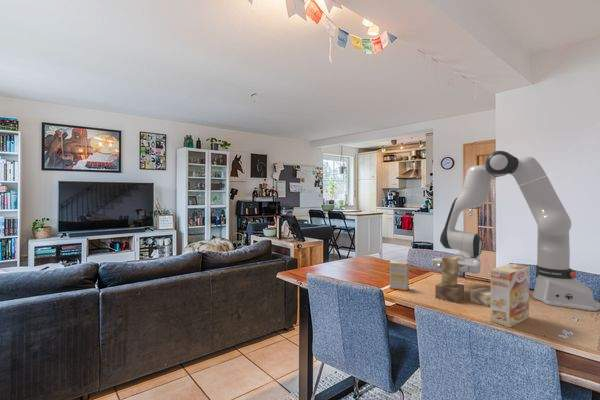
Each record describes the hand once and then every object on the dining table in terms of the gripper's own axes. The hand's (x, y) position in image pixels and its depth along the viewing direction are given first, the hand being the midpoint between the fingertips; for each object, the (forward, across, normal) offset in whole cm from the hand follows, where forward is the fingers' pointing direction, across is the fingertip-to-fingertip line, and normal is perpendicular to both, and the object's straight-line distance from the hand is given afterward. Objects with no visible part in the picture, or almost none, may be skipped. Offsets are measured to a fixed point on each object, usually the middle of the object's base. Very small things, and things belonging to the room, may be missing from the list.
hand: (449, 268), depth 144 cm
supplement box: (+2, -23, +14) cm, 27 cm away
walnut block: (-1, 0, +14) cm, 14 cm away
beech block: (-5, +13, +14) cm, 20 cm away
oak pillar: (-1, 0, +8) cm, 8 cm away
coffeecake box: (+9, +25, +14) cm, 30 cm away
